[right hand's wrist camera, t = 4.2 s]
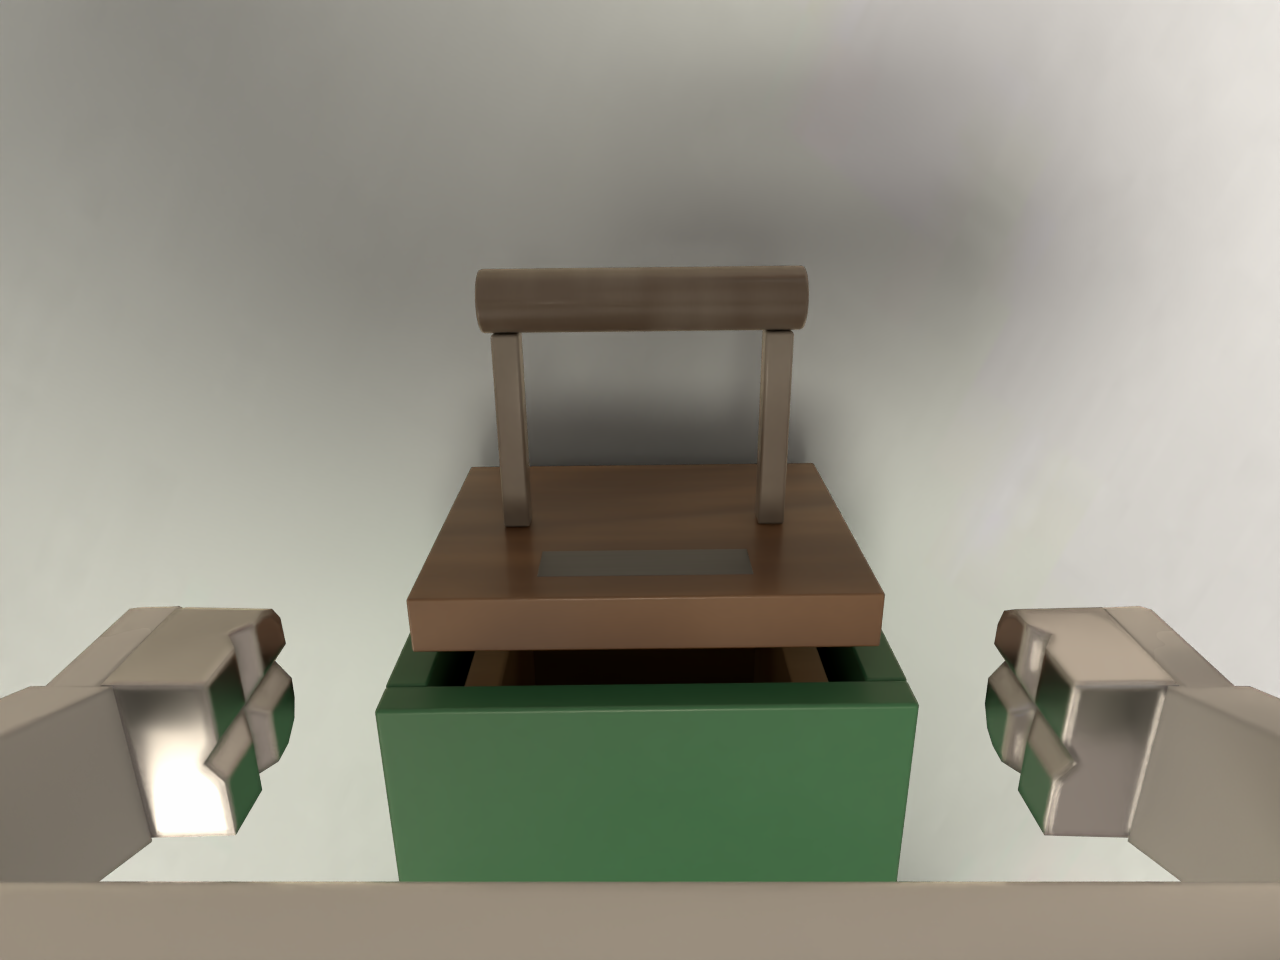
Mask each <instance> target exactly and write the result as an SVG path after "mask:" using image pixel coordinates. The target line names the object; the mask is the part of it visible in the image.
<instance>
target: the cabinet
mask: <svg viewBox="0 0 1280 960" xmlns="http://www.w3.org/2000/svg"><path fill="white" fill-rule="evenodd" d="M816 648H817V651H818V653H819V656H820V659H821V662H822V665H823V667H824V670H825V673H826V676H827V679H828V682H779V683H697V684H614V685H532V686H465V682H466V679H467V676H468V673H469V669H470V666H471V663H472V660H473V656H474V653H475V651H436V652H414V651H413V650H412V642H411V634H409V636H408V638H407V641H406V643H405V645H404V647H403V649H402V652H401V654H400V656H399V658H398V661H397V663H396V665H395V667H394V669H393V672H392V674H391V676H390V678H389V681H388V683H387V685H386V689H385V691H384V693H383V695H382V697H381V700H380V702H379V704H378V706H377V709H376V711H375V715H376V722H377V729H378V736H379V743H380V750H381V757H382V764H383V771H384V778H385V785H386V792H387V799H388V806H389V812H390V819H391V826H392V833H393V840H394V847H395V854H396V861H397V868H398V875H399V882H897V875H898V867H899V859H900V851H901V843H902V835H903V827H904V819H905V811H906V803H907V795H908V787H909V779H910V771H911V763H912V755H913V747H914V739H915V731H916V724H917V716H918V708H919V705H918V702H917V700H916V698H915V696H914V694H913V692H912V690H911V688H910V686H909V684H908V683H907V682H906V677H905V675H904V673H903V671H902V669H901V667H900V665H899V663H898V661H897V659H896V657H895V655H894V653H893V651H892V649H891V647H890V645H889V643H888V641H887V639H886V637H885V635H884V633H883V631H882V629H881V637H880V645H879V646H851V647H816Z"/></svg>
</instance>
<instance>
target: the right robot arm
mask: <svg viewBox="0 0 1280 960" xmlns="http://www.w3.org/2000/svg"><path fill="white" fill-rule="evenodd" d="M285 644H286V643H285V638H284V633H283V628H282V624H281V619H280V617H279V616H278V615H277V614H276V613H275V612H274V610H273V609H255V608H202V607H185V608H182V607H180V606H170V607H140V608H132V609H129V610H128V611H127V612H126V613H125V614H124V615H122V616H121V617H120V618H119V619H118V620H117V621H116V622H115V623H114V624H113V625H112V626H110V627H109V628H108V629H107V630H106V631H105V632H104V633H103V634H102V635H101V636H100V637H98V638H97V639H96V640H95V641H94V642H93V643H92V644H91V645H90V646H89V647H88V648H86V649H85V650H84V651H83V652H82V653H81V654H80V655H79V656H78V657H77V658H76V659H74V660H73V661H72V662H71V663H70V664H69V665H68V666H67V667H66V668H65V669H64V670H62V671H61V672H60V673H59V674H58V675H57V676H56V677H55V678H54V679H53V680H52V681H51V682H49V683H48V684H47V685H46V686H30V687H27V688H25V689H23V690H20V691H18V692H15V693H13V694H10V695H8V696H6V697H3V698H1V699H0V960H1280V699H1279V698H1277V697H1274V696H1272V695H1270V694H1267V693H1265V692H1262V691H1260V690H1257V689H1255V688H1253V687H1250V686H1234V685H1233V684H1232V683H1231V682H1230V681H1228V680H1227V679H1226V678H1225V677H1224V676H1223V675H1222V674H1221V673H1220V672H1219V671H1218V670H1217V669H1215V668H1214V667H1213V666H1212V665H1211V664H1210V663H1209V662H1208V661H1207V660H1206V659H1205V658H1204V657H1202V656H1201V655H1200V654H1199V653H1198V652H1197V651H1196V650H1195V649H1194V648H1193V647H1192V646H1190V645H1189V644H1188V643H1187V642H1186V641H1185V640H1184V639H1183V638H1182V637H1181V636H1180V635H1179V634H1177V633H1176V632H1175V631H1174V630H1173V629H1172V628H1171V627H1170V626H1169V625H1168V624H1167V623H1165V622H1164V621H1163V620H1162V619H1161V618H1160V617H1159V616H1158V615H1157V614H1156V613H1155V612H1154V611H1152V610H1151V609H1147V608H1144V607H1141V606H1129V607H1105V608H1103V607H1090V608H1048V609H1014V610H1007V611H1004V612H1003V614H1002V617H1001V619H1000V621H999V623H998V626H997V632H996V637H995V642H994V644H995V646H996V647H997V649H998V650H999V652H1000V654H1001V655H1002V657H1003V658H1004V660H1005V661H1004V662H1003V663H1002V665H1001V666H1000V667H999V668H998V669H997V670H996V671H995V672H994V673H993V674H992V675H991V676H990V677H989V678H988V685H987V693H986V700H985V709H986V720H987V729H988V732H989V735H990V738H991V741H992V745H993V747H994V749H995V750H996V752H997V754H998V756H999V758H1000V760H1001V761H1002V762H1003V763H1005V764H1006V765H1008V766H1010V767H1011V768H1013V769H1014V770H1016V771H1018V772H1019V773H1021V776H1020V781H1019V787H1018V791H1019V793H1020V794H1021V796H1022V798H1023V799H1024V801H1025V803H1026V805H1027V806H1028V808H1029V810H1030V811H1031V813H1032V815H1033V816H1034V818H1035V820H1036V822H1037V823H1038V825H1039V827H1040V828H1041V830H1042V832H1043V834H1044V835H1053V836H1089V837H1126V838H1128V842H1130V843H1131V844H1132V845H1134V846H1135V847H1136V848H1137V849H1139V850H1140V851H1141V852H1143V853H1144V854H1145V855H1147V856H1148V857H1149V858H1151V859H1152V860H1153V861H1155V862H1156V863H1157V864H1159V865H1160V866H1161V867H1163V868H1164V869H1165V870H1167V871H1168V872H1169V873H1171V874H1172V875H1173V876H1175V877H1176V878H1177V879H1179V880H1180V881H1181V882H99V881H100V880H102V879H103V878H104V877H106V876H107V875H108V874H110V873H111V872H112V871H114V870H115V869H116V868H118V867H119V866H120V865H122V864H123V863H124V862H126V861H127V860H128V859H130V858H131V857H132V856H134V855H135V854H136V853H138V852H139V851H140V850H142V849H143V848H144V847H146V846H147V845H148V844H149V843H151V842H152V839H151V838H154V837H189V836H225V835H236V834H237V832H238V830H239V829H240V827H241V825H242V823H243V822H244V820H245V818H246V817H247V815H248V813H249V811H250V810H251V808H252V806H253V805H254V803H255V801H256V799H257V798H258V796H259V794H260V793H261V791H262V787H261V781H260V776H259V773H261V772H262V771H264V770H266V769H267V768H269V767H270V766H272V765H274V764H275V763H277V762H278V761H279V760H280V758H281V756H282V754H283V752H284V750H285V748H286V747H287V745H288V743H289V738H290V734H291V730H292V726H293V722H294V700H295V697H294V690H293V684H292V678H291V677H290V676H289V675H288V674H287V673H286V672H285V671H284V670H283V669H282V668H281V667H280V666H279V665H278V663H277V662H276V661H275V660H276V658H277V657H278V655H279V654H280V652H281V650H282V649H283V647H284V646H285Z"/></svg>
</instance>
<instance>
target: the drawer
mask: <svg viewBox="0 0 1280 960" xmlns="http://www.w3.org/2000/svg"><path fill="white" fill-rule="evenodd" d="M808 304H809V284H808V276H807V272H806V269H805V267H803V266H718V267H627V268H536V269H481V270H479V271H478V273H477V277H476V283H475V306H476V315H477V321H478V325H479V328H480V330H481V332H483V333H493V334H492V336H491V350H492V364H493V378H494V392H495V406H496V420H497V433H498V447H499V461H500V467H472V468H471V469H470V471H469V473H468V475H467V477H466V479H465V481H464V483H463V485H462V487H461V490H460V492H459V494H458V496H457V498H456V500H455V502H454V504H453V506H452V508H451V510H450V512H449V514H448V516H447V518H446V520H445V522H444V524H443V526H442V528H441V531H440V533H439V535H438V537H437V539H436V541H435V543H434V545H433V547H432V549H431V551H430V553H429V555H428V557H427V559H426V561H425V563H424V565H423V567H422V569H421V571H420V574H419V576H418V578H417V580H416V582H415V584H414V586H413V588H412V590H411V592H410V594H409V596H408V598H407V609H408V617H409V625H410V634H411V642H412V650H413V651H414V652H436V651H475V653H474V656H473V660H472V663H471V666H470V669H469V673H468V676H467V679H466V682H465V686H532V685H614V684H697V683H779V682H828V679H827V676H826V673H825V670H824V667H823V665H822V662H821V659H820V656H819V653H818V651H817V648H816V647H851V646H879V645H880V637H881V627H882V617H883V608H884V598H885V594H884V592H883V590H882V588H881V586H880V585H879V583H878V581H877V579H876V577H875V575H874V574H873V572H872V570H871V568H870V566H869V564H868V563H867V561H866V559H865V557H864V555H863V553H862V552H861V550H860V548H859V546H858V544H857V542H856V541H855V539H854V537H853V535H852V533H851V531H850V530H849V528H848V526H847V524H846V522H845V520H844V519H843V517H842V515H841V513H840V511H839V509H838V508H837V506H836V504H835V502H834V500H833V498H832V497H831V495H830V493H829V491H828V489H827V487H826V486H825V484H824V482H823V480H822V478H821V476H820V475H819V473H818V471H817V469H816V467H815V465H814V464H813V463H787V452H788V434H789V415H790V397H791V378H792V360H793V341H794V334H793V332H792V330H800V329H802V328H803V327H804V325H805V322H806V319H807V313H808ZM720 330H763V331H762V356H761V380H760V404H759V429H758V453H757V464H699V465H612V466H529V450H528V433H527V416H526V399H525V382H524V366H523V349H522V333H541V332H630V331H720Z"/></svg>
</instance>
